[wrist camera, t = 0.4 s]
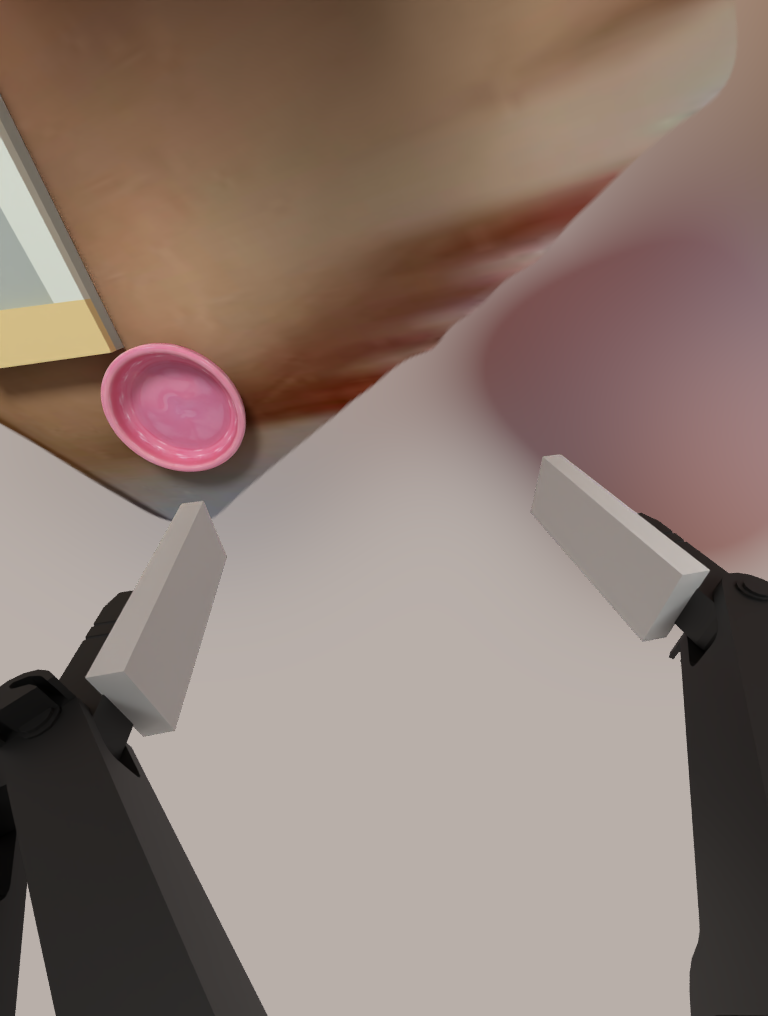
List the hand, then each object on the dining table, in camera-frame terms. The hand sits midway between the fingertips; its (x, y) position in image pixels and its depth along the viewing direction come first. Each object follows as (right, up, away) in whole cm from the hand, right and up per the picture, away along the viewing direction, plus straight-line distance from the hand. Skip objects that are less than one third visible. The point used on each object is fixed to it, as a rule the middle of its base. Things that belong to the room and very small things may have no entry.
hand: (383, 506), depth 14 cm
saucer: (-20, +11, +23) cm, 32 cm away
